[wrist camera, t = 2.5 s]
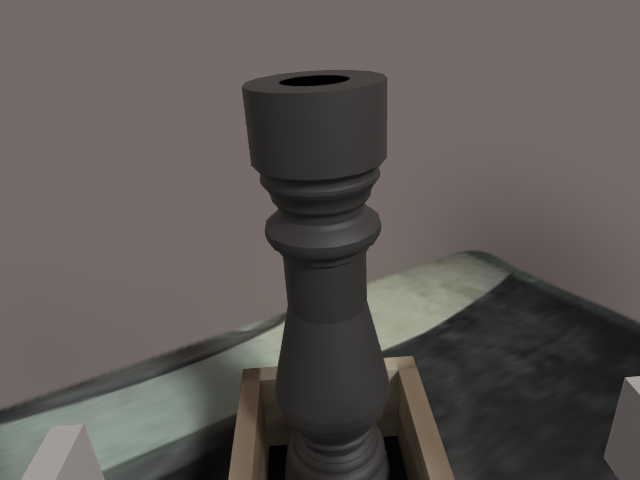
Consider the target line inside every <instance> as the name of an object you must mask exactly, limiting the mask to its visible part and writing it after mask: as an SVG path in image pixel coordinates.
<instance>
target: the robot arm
mask: <svg viewBox="0 0 640 480" xmlns="http://www.w3.org/2000/svg"><path fill="white" fill-rule="evenodd" d="M604 459H605V460H606V461H607V463H608V464H609V466H610V467H611V469H612V470H613V472H614V473H615V475H616V476H617V478H618V479H619V480H640V376H638V377H627V378H625V379H624V383H623V387H622V390H621V394H620V398H619V402H618V405H617V409H616V413H615V417H614V421H613V424H612V428H611V432H610V436H609V439H608V443H607V447H606V451H605V455H604ZM21 480H105V479H104V476H103V474H102V471H101V469H100V466H99V463H98V461H97V458H96V455H95V453H94V450H93V447H92V445H91V442H90V440H89V437H88V434H87V432H86V429H85V426H84V424H78V425H66V426H54V427H51V429H50V430H49V432H48V434H47V435H46V437H45V439H44V441H43V442H42V444H41V446H40V448H39V449H38V451H37V453H36V454H35V456H34V458H33V460H32V461H31V463H30V465H29V467H28V468H27V470H26V472H25V474H24V475H23V477H22V479H21Z"/></svg>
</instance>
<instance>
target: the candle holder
mask: <svg viewBox="0 0 640 480" xmlns="http://www.w3.org/2000/svg"><path fill="white" fill-rule="evenodd" d="M242 93H243V100H244V109H245V117H246V125H247V133H248V141H249V149H250V157H251V166H252V167H254V168H255V169H256V170H257V171H258V172H259V173H260V183H261V184H262V186H263V187H264V188H265V189H266V190H267V191H268V192H269V194H270V196H271V198H272V202H273V203H274V204H275V205H276V206H277V207H278V210H277V211H276V212H275V213H274V214H273V215H271V216H270V217H269V218H268V220H267V221H266V227H265V236H266V239H267V241H268V242H269V243H270V244H271V246H272V247H273V248H274V250H276V251H278V252H279V253H280V254H281V255H282V256H283V261H284V270H285V280H286V290H287V300H288V308H287V314H286V320H285V326H284V332H283V339H282V345H281V351H280V357H279V362H278V368H277V374H276V384H275V396H276V401H277V403H278V405H279V407H280V409H281V411H282V413H283V415H284V417H285V419H286V421H287V423H288V424H289V425H291V426H292V427H293V428H294V429H293V431H292V433H291V435H290V436H289V438H288V447H287V456H286V467H285V479H286V480H390V468H389V462H388V456H387V451H386V450H385V445H384V439H383V434H382V432H381V431H380V430H379V428H378V427H377V425H376V423H377V422H378V421H379V419H380V418H381V417H382V414H383V411H384V409H385V406H386V403H387V400H388V397H389V395H390V382H389V378H388V373H387V368H386V365H385V361H384V358H383V355H382V351H381V348H380V345H379V341H378V338H377V334H376V331H375V327H374V324H373V320H372V317H371V313H370V310H369V306H368V303H367V284H366V252H367V250H368V248H369V247H370V246H371V245H373V244H374V242H375V241H376V239H377V238H378V236H379V234H380V231H381V221H380V218H379V215H378V213H377V212H375V211H374V210H373V209H371V208H370V207H368V206H367V205H365V202H366V201H367V200H368V198H369V197H370V195H371V189H372V187H373V185H374V184H375V183H376V181H377V180H378V178H379V176H380V170H379V166H380V165H381V164H382V162H383V161H384V160H385V159H386V158H387V77H386V76H385V75H384V74H380V73H375V72H371V71H356V70H324V71H306V72H295V73H287V74H278V75H273V76H268V77H263V78H257V79H254V80H251V81H248V82H245V84H244V85H243V86H242Z"/></svg>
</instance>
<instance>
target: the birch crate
mask: <svg viewBox="0 0 640 480" xmlns="http://www.w3.org/2000/svg"><path fill="white" fill-rule="evenodd" d="M384 361H385V365H386V368H387V373H388V378H389V382H390V395H389V397H388V400H387V403H386V406H385V409H384V411H383V414H382V417H381V418H380V419H379V421H378V422H377V423H376V425H377V427H378V428H379V430H380V431H381V432H382V434H383V437H387V436H397V437H398V441H399V445H400V450H401V454H402V458H403V462H404V466H405V470H406V475H407V479H408V480H454V477H453V474H452V471H451V468H450V465H449V462H448V459H447V456H446V453H445V450H444V447H443V444H442V441H441V438H440V435H439V432H438V429H437V426H436V423H435V420H434V417H433V415H432V412H431V409H430V406H429V403H428V400H427V397H426V394H425V391H424V388H423V385H422V382H421V379H420V376H419V373H418V370H417V367H416V364H415V361H414V358H413V356H406V357H393V358H384ZM277 368H278V367H265V368H252V369H243V374H242V382H241V389H240V397H239V404H238V411H237V419H236V426H235V434H234V441H233V449H232V456H231V464H230V471H229V478H228V480H268V466H269V446H276V445H288V438H289V436H290V435H291V433H292V431H293V429H294V428H293V427H292V426H291V425H289V424H288V423H287V421H286V419H285V417H284V415H283V413H282V411H281V409H280V407H279V405H278V403H277V401H276V396H275V384H276V374H277Z"/></svg>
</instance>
